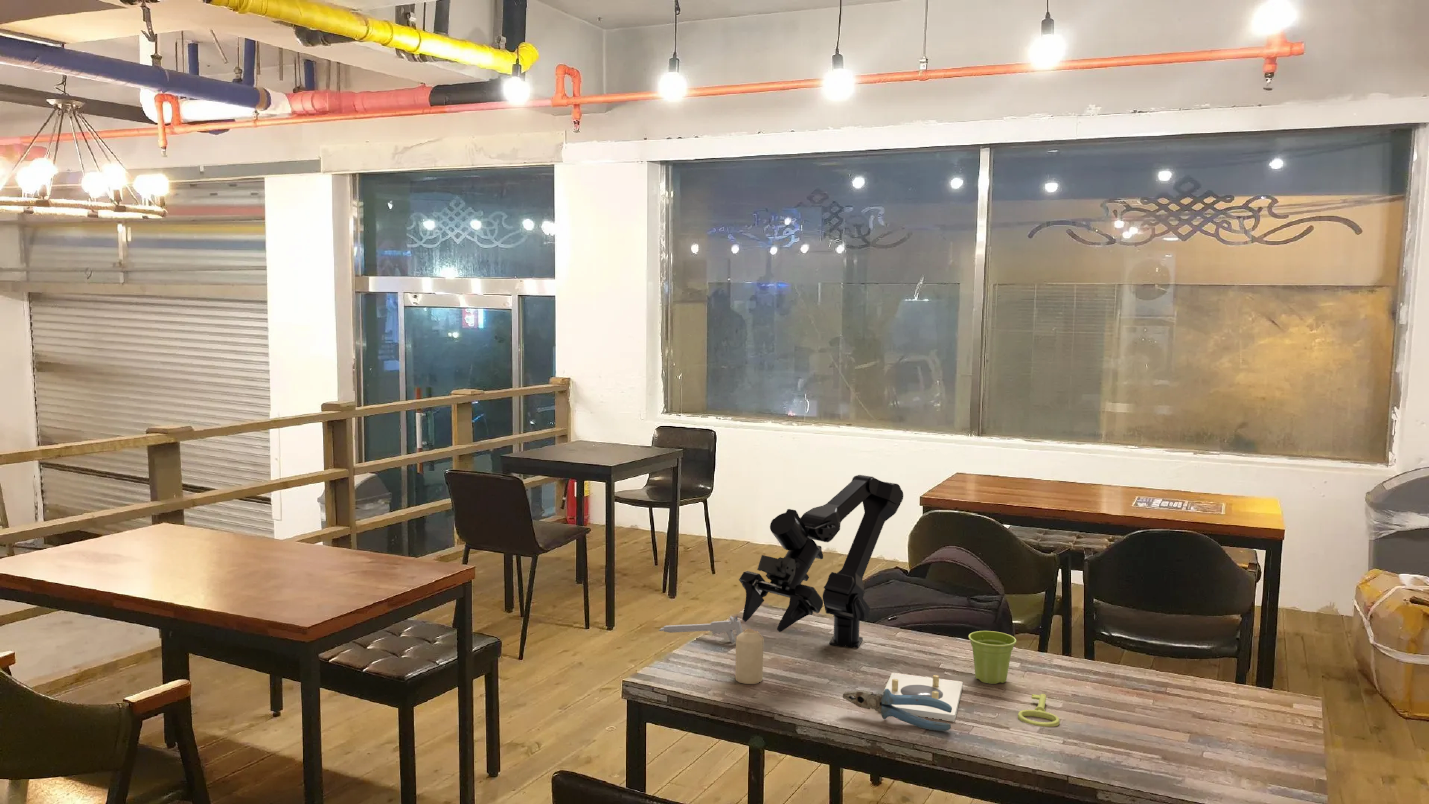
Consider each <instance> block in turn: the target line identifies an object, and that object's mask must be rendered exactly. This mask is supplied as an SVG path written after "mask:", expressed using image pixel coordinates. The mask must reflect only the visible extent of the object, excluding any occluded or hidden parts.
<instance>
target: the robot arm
mask: <svg viewBox="0 0 1429 804" xmlns="http://www.w3.org/2000/svg"><path fill="white" fill-rule="evenodd" d="M903 500H904V492H903V490H902V488H901V486H900V485H899V484H898V483H893V482H887V481H882V480H879V479H877V478H875V476H869V475H865V474H864V475H863V474H857V475H854V476H853V477H852V480H851V481H850V482H849V483H848V484H847V485H846V486H845V487H844V488H842V489H841V490H840V491H839V492H838V493H837V494H836V495H834V496H833V497H832V498H831V499H830V500H829V501H827V502H826V503H825V504H823V505H820V506H815V507H812V508H811V509H809V510H808V511H805V512H804V513H803V514H802V516H801V517H800V515H799V513H798V511H797V510H796V509H791V508H788V509H786V512H783V513H781V514H778V515H777V516H776V517H775V518H772V520H771V521H770V524H769V529H770V532H771V533H772V535H773V536H774V538H776V540H777V542H778V543H779V544H780V545H781V547H782V548H783V549H784V550H786V551H787V552H786V553H785V556H784V557H778V558H776V557H772V556H768V555H763V554H762V555H761V556H760V560H759V562H758V565H757V571H759V572H763V573H766V574H765V577H766V578H767V579H768V580H770V582H768V581H766V580H765V579H764V578H763V576H762V575H761V574H760V573H758V572H754V571H750V570H745V571H743V572H742V574H741V575H740V577H739V578H738V581H739V583H740V584H741V585H742V588H743V589H744V590H745V601H744V609H743V614H742V618H741V619H742V621H743V622H745V623H746V622H747V621H749V619H751V618H752V616H753V615H754V614H755V613H756V612H757V610H758V609H759V608H760V606H761V605H762V604H763V603H764V602H765V599H764V597H767V595H768V594H769V593H771V594H774V595H777V596H781V597H785V598H789V604H788V606H787V608H786V610H785V612H784V614H783V615H782V617H781V619H780V621H779V622H778V625H777V627H776V630H777V631H778V632H779V633H781V632H783V631H784V630H786V629H787V628H789V627H791V625H793V624H795V623H796V622H798V621H800V620H802V619H804V618H805V617H807V616H809V615H810V616H812V615H813V614H814V613H815V614H819V613H820V611H822V608H823V606H824V609H825V614H828V615H833V636H832V638H831V639H830V641H829V643H828V645H831V646H837V647H838V646H839V647H848V648H859V647H860V645H861V643H862V642H863V639H864V637H862V636H860V622H861V621H866V619H867V618H869V615H870V610H871V607H870V606H869V604H868V603H867V602H866V600H865V599H864V596H865V591H866V590H865V587H864V586H865V585H864V580H863V579H864V578H863V577H864V575H865V573H866V570H867V568H868V565H869V563H870V560H871V558H872V555H873V553H874V550H875V548H876V544H877V542H878V540H879V537H880V535H881V532H882V530H883V528H884V527H883V526H884V525H885V522H887V521H888V520H889V519H890V518H892V517H893V516H894V515H895V514H896V513H897V511H898V510H899V508H900V506H901V504H902V503H903ZM860 504H862V505H863V511H864V513H863V516H862V519H861V521H860V523H859V526H858V529H857V532H856V533H855V536H854V538H853V540H852V543H851V546H850V549H849V550H848V552H847V556H846V558H845V559H844V563H843V565H842V568H841V569H840V570H839V571H837V572H834V571H831V572H830V574H829V575H828V578H827V581H826V583H825V584H824V586H823V589H824V590H823V591H822V597H821V595H820V594H819V593H818V591H817V590H816V589H815V587H814V586H810V585H805V584H802V583H803V581H804V582H807V581H809V578H810V576H809V575H808V572H809V570H810V569H811V567H812V564H813V563H814V562H815V560H816V559H818V560H823V559H824V553H823V551H822V546H821V545H818V544H817V543H816V541H817V542H823V543H829V542H831V541H832V540H833V539H834V538H835V537H836V535H837V534H838V533H839V532H840V530H841V523H842V521H843V520H844V519H845V518H846V517H848V515H850V514H851V512H853V511H854V510H855V509H857V507H858V506H859V505H860Z"/></svg>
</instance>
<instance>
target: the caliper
mask: <svg viewBox="0 0 1429 804" xmlns="http://www.w3.org/2000/svg"><path fill="white" fill-rule="evenodd" d="M734 630H735V634H736V637H737V636H738V635H739V634H740V633H742V632H743V627H742V623H741V620H738V615H736V616H734V617H733V615H730V616H729V620H720V621H717V620H716V621H711V622H710V623H699V624H698V623H694V624H693V623H690V624H675V625H672V624H671V625H664V626H663V627H661V628H660V629H658V631H659V632H664V633H672V634H673V633H688V632H689V633H690V632H692V633H693V632H712V635H716V634H717V635H721V634H722V633H724V632H725V634H726V635H727V638H728V640H729V642H730V643H732V644H733V643H736V640H735V635H734Z"/></svg>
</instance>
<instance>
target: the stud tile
mask: <svg viewBox="0 0 1429 804" xmlns="http://www.w3.org/2000/svg"><path fill="white" fill-rule="evenodd" d="M890 674H891V675H890V677H889V678H888V681H887V683H886V686H885V688H884V690H885V689H889V690H890V692H891V693H892V694H893V695H919V696H926V697H931V698H935V699H938V700H941V701H943V702H946V703H947V704H949V705H950V706H951V707H952V711H951V713H949V712H946V711H943V710H940V709H937V708H934V707H929V706H922V705H893V706H894V707H897V708H899V709H901V710H903V711H906V712H908V713H910V714H912V715H915V716H917V717H918V716H920V718H925V717H928V718H927V719H932V718H934V719H933V720H939V719H942V720H941V721H948V722H953V723H955V721H956V717H957V713H958V708H959V705H960V700H961V697H962V691H963V684H964V683H963V681H960V680H952V679H944V678H940V675H937V674H934V675H932V677H930V676H929V677H928V676H920V675H912V674H905V673H899V672H897V673H896V672H891V673H890Z"/></svg>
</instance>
